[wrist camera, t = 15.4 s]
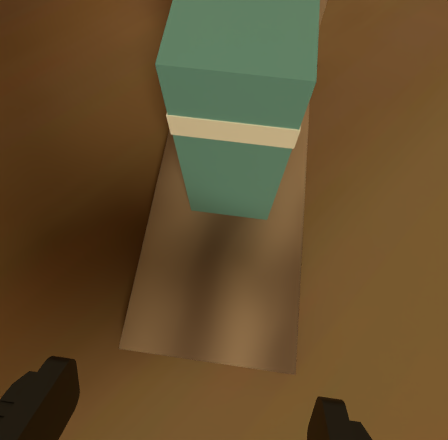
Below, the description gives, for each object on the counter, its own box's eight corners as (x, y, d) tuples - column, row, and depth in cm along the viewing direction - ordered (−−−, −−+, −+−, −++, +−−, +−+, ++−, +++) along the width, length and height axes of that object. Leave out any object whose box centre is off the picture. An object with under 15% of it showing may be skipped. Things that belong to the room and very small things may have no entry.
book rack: (125, 348, 20) (-434, 382, 3) (194, 40, 29) (153, -390, 12) (290, 372, 19) (741, 577, 2) (308, 51, 28) (434, -379, 11)
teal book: (190, 211, 21) (153, 65, 10) (200, 157, 23) (177, -23, 12) (267, 220, 21) (318, 83, 10) (273, 166, 23) (321, -10, 11)
